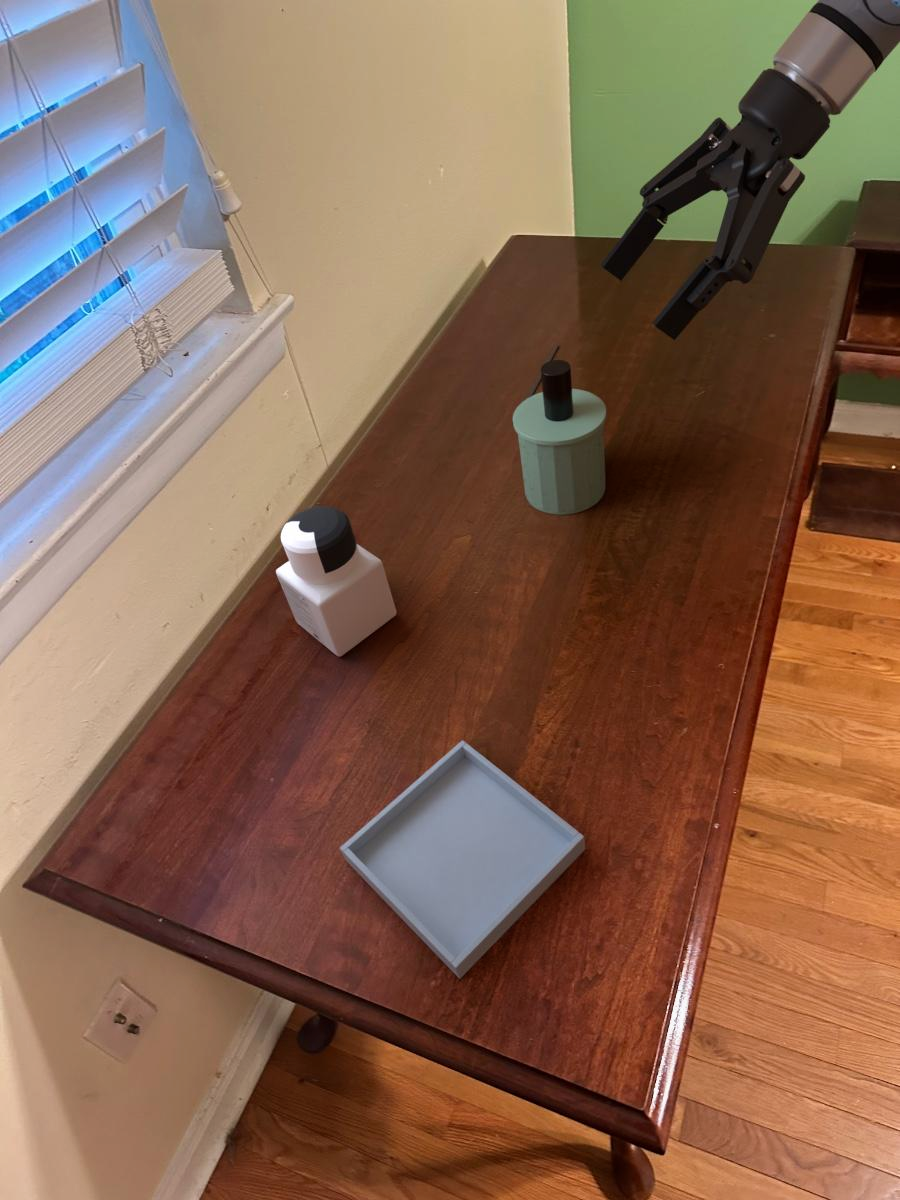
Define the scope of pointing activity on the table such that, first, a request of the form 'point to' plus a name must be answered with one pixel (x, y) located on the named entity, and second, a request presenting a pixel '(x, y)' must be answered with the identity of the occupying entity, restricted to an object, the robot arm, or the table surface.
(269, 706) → the table surface
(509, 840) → the tray
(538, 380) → the rod
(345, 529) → the container
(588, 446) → the faceted green cup
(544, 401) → the lid
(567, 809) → the table surface
